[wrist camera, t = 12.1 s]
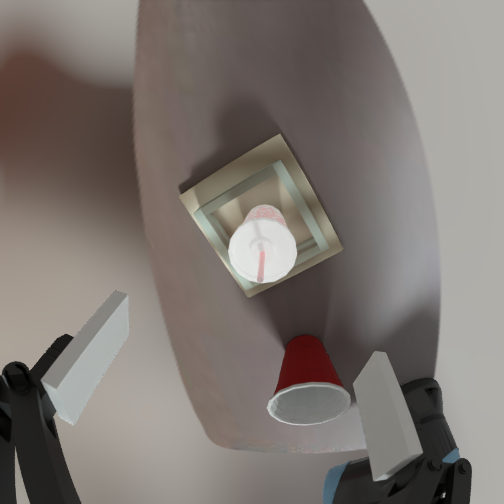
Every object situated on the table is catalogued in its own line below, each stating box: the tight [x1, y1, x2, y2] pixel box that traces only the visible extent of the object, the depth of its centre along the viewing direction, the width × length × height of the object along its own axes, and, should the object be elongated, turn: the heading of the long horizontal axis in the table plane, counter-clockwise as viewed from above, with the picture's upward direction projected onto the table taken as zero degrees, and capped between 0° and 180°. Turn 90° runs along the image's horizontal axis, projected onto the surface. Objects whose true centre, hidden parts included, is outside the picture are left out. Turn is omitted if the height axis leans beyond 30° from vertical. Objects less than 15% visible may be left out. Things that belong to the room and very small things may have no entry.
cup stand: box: [179, 134, 344, 298], centre depth 32 cm, size 16×14×4 cm
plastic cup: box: [267, 335, 351, 425], centre depth 36 cm, size 11×11×12 cm
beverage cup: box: [228, 204, 297, 283], centre depth 26 cm, size 6×6×14 cm
